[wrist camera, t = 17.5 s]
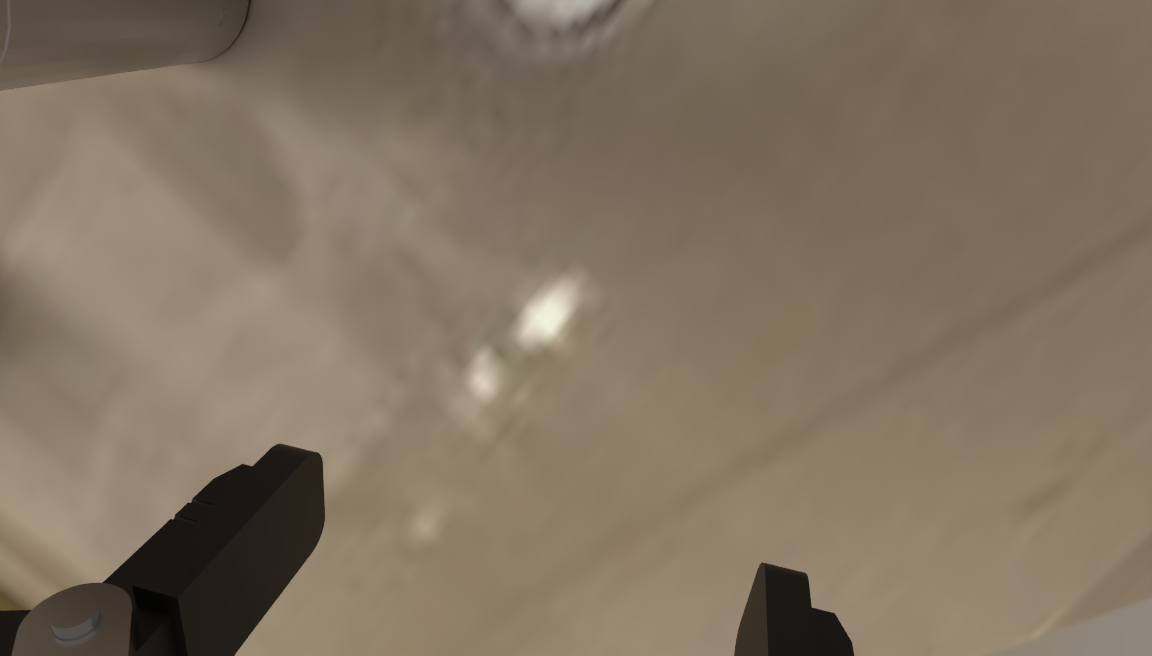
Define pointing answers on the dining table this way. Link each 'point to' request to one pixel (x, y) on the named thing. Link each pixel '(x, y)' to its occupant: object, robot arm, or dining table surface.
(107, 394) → the dining table surface
